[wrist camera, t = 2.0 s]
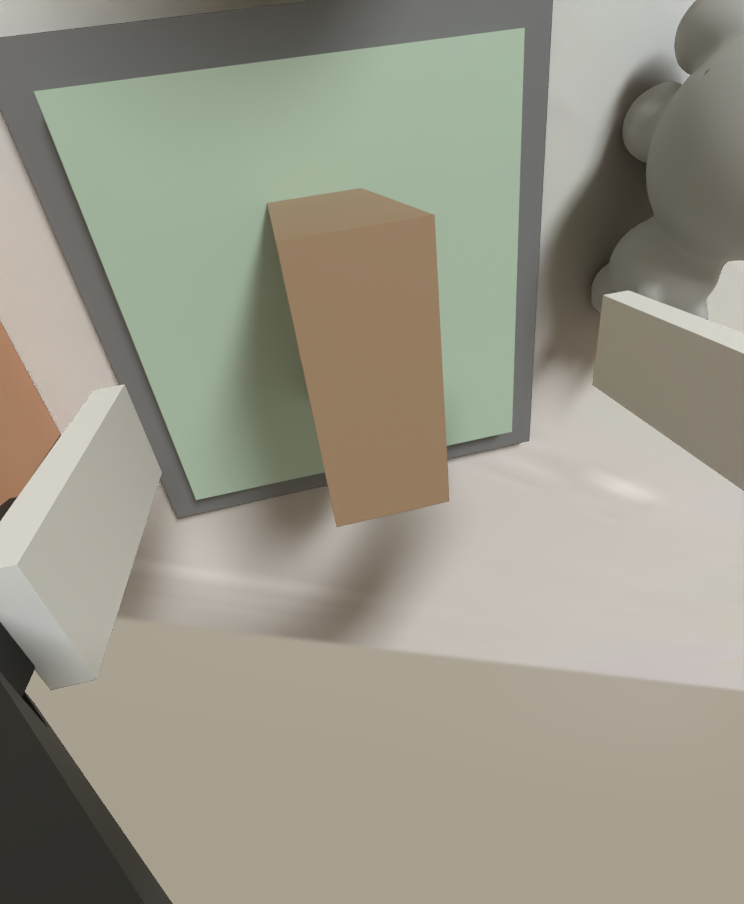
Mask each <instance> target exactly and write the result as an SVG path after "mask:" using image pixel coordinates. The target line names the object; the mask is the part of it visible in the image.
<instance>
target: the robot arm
mask: <svg viewBox="0 0 744 904" xmlns="http://www.w3.org/2000/svg"><path fill="white" fill-rule="evenodd" d="M592 385H593V386H595V387H596V388H598V389H599V390H601V391H602V392H603V393H605V394H606V395H608V396H609V397H611V398H612V399H613V400H615V401H616V402H618V403H619V404H621V405H622V406H623V407H625V408H626V409H628V410H629V411H631V412H632V413H633V414H635V415H636V416H638V417H639V418H641V419H642V420H643V421H645V422H646V423H648V424H649V425H651V426H652V427H653V428H655V429H656V430H658V431H659V432H661V433H662V434H663V435H665V436H666V437H668V438H669V439H671V440H672V441H673V442H675V443H676V444H678V445H679V446H681V447H682V448H683V449H685V450H686V451H688V452H689V453H691V454H692V455H693V456H695V457H696V458H698V459H699V460H701V461H702V462H703V463H705V464H706V465H708V466H709V467H710V468H712V469H713V470H715V471H716V472H718V473H719V474H720V475H722V476H723V477H725V478H726V479H728V480H729V481H730V482H732V483H733V484H735V485H736V486H738V487H739V488H740V489H742V490H743V491H744V333H741V332H739V331H736V330H733V329H731V328H728V327H725V326H723V325H720V324H717V323H715V322H712V321H709V320H707V319H704V318H701V317H699V316H696V315H693V314H690V313H688V312H685V311H682V310H680V309H677V308H674V307H672V306H669V305H666V304H664V303H661V302H658V301H656V300H653V299H650V298H648V297H645V296H642V295H640V294H637V293H634V292H632V291H629V290H628V291H622V292H617V293H612V294H606V295H603V300H602V309H601V317H600V325H599V334H598V342H597V351H596V359H595V367H594V376H593V384H592ZM161 474H162V471H161V469H160V467H159V464H158V462H157V460H156V457H155V455H154V453H153V450H152V448H151V446H150V443H149V441H148V438H147V436H146V434H145V431H144V429H143V427H142V424H141V422H140V420H139V417H138V415H137V412H136V410H135V408H134V405H133V403H132V401H131V398H130V396H129V394H128V391H127V389H126V387H125V384H124V385H118V386H113V387H108V388H102V389H97V390H94V391H93V392H92V393H91V395H90V396H89V398H88V399H87V400H86V402H85V403H84V405H83V406H82V407H81V409H80V410H79V412H78V413H77V414H76V416H75V417H74V419H73V420H72V421H71V423H70V424H69V426H68V427H67V428H66V430H65V431H64V433H63V434H62V435H61V437H60V438H59V440H58V441H57V442H56V444H55V445H54V447H53V448H52V449H51V451H50V452H49V454H48V455H47V456H46V458H45V459H44V461H43V462H42V463H41V465H40V466H39V468H38V469H37V470H36V472H35V473H34V475H33V476H32V477H31V479H30V480H29V482H28V483H27V484H26V486H25V487H24V489H23V490H22V491H21V493H20V494H19V496H18V497H14V498H9V499H8V500H7V501H6V502H4V503H3V504H2V505H1V506H0V904H172V902H171V901H170V899H169V898H168V897H167V895H166V894H165V892H164V891H163V889H162V888H161V886H160V885H159V883H158V882H157V881H156V879H155V878H154V876H153V875H152V873H151V872H150V870H149V869H148V867H147V866H146V865H145V863H144V862H143V860H142V859H141V857H140V856H139V854H138V853H137V852H136V850H135V849H134V847H133V846H132V844H131V843H130V841H129V840H128V838H127V837H126V836H125V834H124V833H123V831H122V830H121V828H120V827H119V825H118V824H117V822H116V821H115V820H114V818H113V817H112V815H111V814H110V812H109V811H108V809H107V808H106V806H105V805H104V804H103V802H102V801H101V799H100V798H99V796H98V795H97V793H96V792H95V791H94V789H93V788H92V786H91V785H90V783H89V782H88V780H87V779H86V778H85V776H84V775H83V773H82V772H81V770H80V769H79V767H78V766H77V765H76V763H75V761H74V760H73V759H72V757H71V756H70V754H69V753H68V751H67V750H66V749H65V747H64V745H63V744H62V743H61V741H60V740H59V738H58V737H57V735H56V734H55V733H54V731H53V730H52V728H51V727H50V725H49V724H48V722H47V721H46V719H45V718H44V716H43V715H42V714H41V712H40V711H39V709H38V708H37V706H36V705H35V703H34V702H33V701H32V700H31V699H30V697H29V696H28V695H27V694H26V693H25V690H26V687H27V685H28V683H29V680H30V678H31V676H32V674H33V671H34V670H35V671H36V672H37V673H38V675H39V676H40V677H41V678H42V680H43V681H44V682H45V684H46V685H47V686H48V687H49V689H50V690H55V689H59V688H63V687H67V686H72V685H76V684H80V683H84V682H88V681H92V680H96V679H97V677H98V674H99V671H100V668H101V664H102V661H103V658H104V655H105V652H106V648H107V645H108V642H109V639H110V636H111V633H112V630H113V626H114V623H115V620H116V617H117V614H118V611H119V607H120V604H121V601H122V598H123V595H124V591H125V588H126V585H127V582H128V579H129V576H130V572H131V569H132V566H133V563H134V560H135V557H136V553H137V550H138V547H139V544H140V541H141V538H142V534H143V531H144V528H145V525H146V522H147V518H148V515H149V512H150V509H151V506H152V503H153V499H154V496H155V493H156V490H157V487H158V484H159V480H160V477H161Z"/></svg>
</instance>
